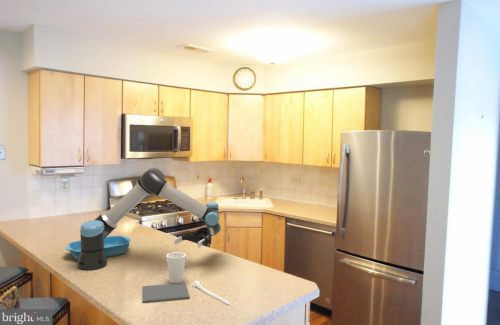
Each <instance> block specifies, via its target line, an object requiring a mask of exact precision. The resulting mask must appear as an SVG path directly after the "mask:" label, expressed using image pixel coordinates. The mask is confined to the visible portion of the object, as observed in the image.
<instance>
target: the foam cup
mask: <svg viewBox="0 0 500 325" xmlns="http://www.w3.org/2000/svg"><path fill="white" fill-rule="evenodd" d="M186 260H187V254H186V253H184V252H180V251H179V252H178V251H175V252H169V253H167V254H166V260H165V261H166V264H167V265H166V266H167V272H168V273H167V274H168V281H169V282H170V284H176V283H183V279H184V278H183V277H184V272H185V266H186Z"/></svg>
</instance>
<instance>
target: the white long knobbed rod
mask: <svg viewBox="0 0 500 325" xmlns="http://www.w3.org/2000/svg"><path fill="white" fill-rule="evenodd" d="M191 287H192V288H197V289H198V290H200V291H201V292H203V293H204V294H206V295H208V296H209V297H212V298H214V299H215V300H217V301H220V302H221V303H223V304H225V305H227V306H230V305H231V303H230V302H229V301H228V300H226V299H225V298H224V297H221V296H219V295H218V294H216V293H213V292H211V291H210V290H208V289H206V288H205V286H204V287H203V286H202V285H201V282H200V281H199V280H194V281H192V283H191Z"/></svg>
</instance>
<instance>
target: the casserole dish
mask: <svg viewBox="0 0 500 325" xmlns="http://www.w3.org/2000/svg"><path fill="white" fill-rule="evenodd" d="M131 241H132V239H131V237H128V236H123V235H110V236H109V235H108V236H107V237H106V238H105V239H104V252H105V255H106V258H108V257H109V258H110V257H113V256H119V255H122V254H125V253H126V252H127V251H128V250H129V246H130V244H131ZM65 250H66V251H68V252H70V255H71V256H72V257H73V258H74V259H75V260H77V261H78V259H79V256H80V253H81V239H79V240H76V241H71V242H69V243H68V244H67V245H66V246H65Z"/></svg>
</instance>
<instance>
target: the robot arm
mask: <svg viewBox="0 0 500 325" xmlns="http://www.w3.org/2000/svg"><path fill="white" fill-rule="evenodd" d="M165 178H166V177H165V173H164V172H163V171H162V170H161V169H159V168H157V167H152V168H149V169H147V170H146V171H144V172H143V173H142V174H141V176H140V177H139V178H138V179H137V180H136V184H135V185H134V186H133V187H132V188H131V189H130V190H129V191H128V192H127V193H126V194H125V195H124V196H123V197H121V198H120V199H119V200H118V201H117V202H115V204H114V205H112V207H111V208H110V209H109V210H108V211H106V212H102V213H100V214H99V215H98V216H97V217H96V218H94V220H88V221H85V222H83V223H82V224H80V230H79V232H80V240H81V253H80V256H79V259H78V260H77V265H76V266H77V269H79V270H84V271H94V270H99V269H102V268H105V267H106V266H107V265H108V257H106V255H105V252H104V239H105V238H106V237H108V236H109V235H110V234H111V233H112V232H113V231H114V230H115V229H116V228H117V227H118V223H119V222H120V221H121V220H122V219H123V218H124V217H126V215H128V213H130V211H132V210H133V209H134V208H135V207H136V206H137V205H138V204H139V203H140V202H142V201H143V199H145V198H146V197H147V196H152V195H154V196H157V197H162V198H164V199H166V200H167V201H170V202H171V203H173V204H174V205H176V206H177V207H179V208H182V209H183V210H184V211H186V212H188V213H190V214H192V215H193V216H195V217H197V218H199V219H200V220H202V221H203V222H205V225H204V226H202V227H200V228H198V229H197V230H196V231H195V232H192V231H191V232H190V231H189V232H186V233H181V234H177V235H176V238H175V239H174V245H176V246H177V244H180V243H182V242H183V241H189V240H192V241H194V240H195V241H197V248H201V247H202V246H204V245H208V244H209V245H211V244H212V239H213V237H214V236H216V235H217V234H219V233H220V232H221V229H222V225H221V224H220V222H219V220H220V213H219V210H220V209H219V204H218V203H217V202H207V203H205V204H204V203H202V202H200V201H199V200H196V199H195V198H193V197H191V196H190V195H188V194H187V193H185V192H183V191H181V190H180V189H178V188H176V187H174V186H172V185H171V184H169V181H168V180H166V179H165Z"/></svg>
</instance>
